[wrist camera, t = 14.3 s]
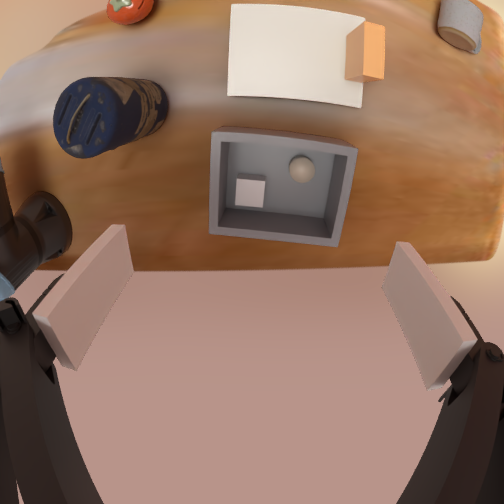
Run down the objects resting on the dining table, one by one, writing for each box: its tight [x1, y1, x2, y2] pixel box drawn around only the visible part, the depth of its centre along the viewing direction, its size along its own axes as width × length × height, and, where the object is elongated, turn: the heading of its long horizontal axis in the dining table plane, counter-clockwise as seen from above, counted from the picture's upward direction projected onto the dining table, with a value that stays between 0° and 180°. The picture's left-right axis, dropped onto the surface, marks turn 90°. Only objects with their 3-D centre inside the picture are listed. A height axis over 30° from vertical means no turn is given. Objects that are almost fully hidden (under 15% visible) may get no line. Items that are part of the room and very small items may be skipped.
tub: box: [209, 126, 358, 247], centre depth 38 cm, size 18×14×8 cm
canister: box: [53, 77, 168, 159], centre depth 29 cm, size 10×10×18 cm
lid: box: [227, 4, 385, 108], centre depth 27 cm, size 19×15×11 cm
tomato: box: [107, 0, 154, 25], centre depth 25 cm, size 7×7×8 cm
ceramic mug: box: [438, 0, 483, 54], centre depth 21 cm, size 11×8×8 cm
